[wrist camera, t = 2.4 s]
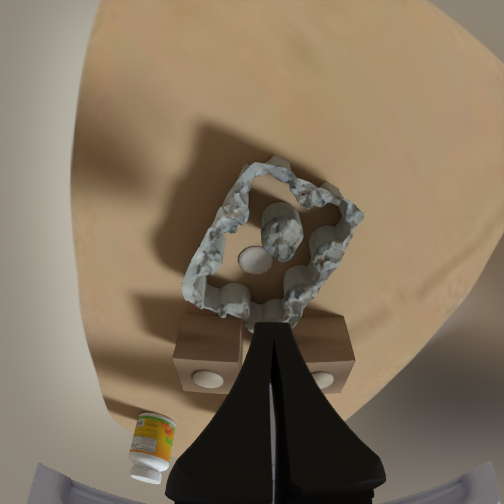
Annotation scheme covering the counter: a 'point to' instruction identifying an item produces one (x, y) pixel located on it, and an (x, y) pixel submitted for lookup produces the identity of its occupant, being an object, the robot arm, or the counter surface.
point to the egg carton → (271, 248)
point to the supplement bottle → (151, 447)
